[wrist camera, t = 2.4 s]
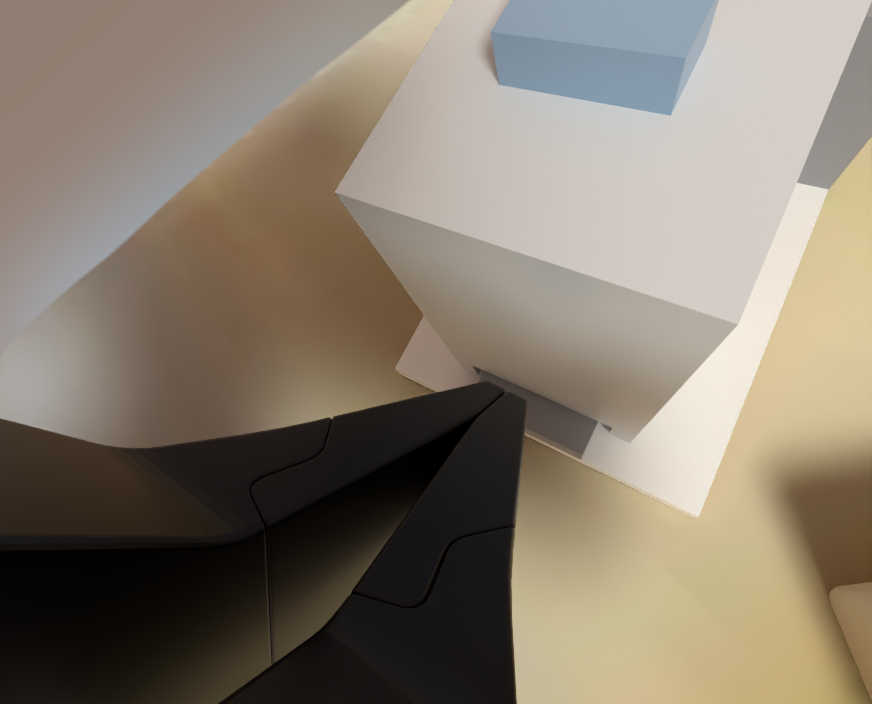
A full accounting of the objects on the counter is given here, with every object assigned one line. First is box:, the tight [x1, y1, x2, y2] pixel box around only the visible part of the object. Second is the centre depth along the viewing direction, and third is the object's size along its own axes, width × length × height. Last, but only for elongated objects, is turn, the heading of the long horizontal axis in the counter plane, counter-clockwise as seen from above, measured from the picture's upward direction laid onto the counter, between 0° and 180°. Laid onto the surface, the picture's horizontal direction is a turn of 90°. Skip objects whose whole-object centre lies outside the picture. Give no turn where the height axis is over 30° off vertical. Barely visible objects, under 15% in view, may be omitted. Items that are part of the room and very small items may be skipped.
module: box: [334, 0, 872, 444], centre depth 10 cm, size 5×6×10 cm
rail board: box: [395, 2, 872, 517], centre depth 13 cm, size 12×10×6 cm
